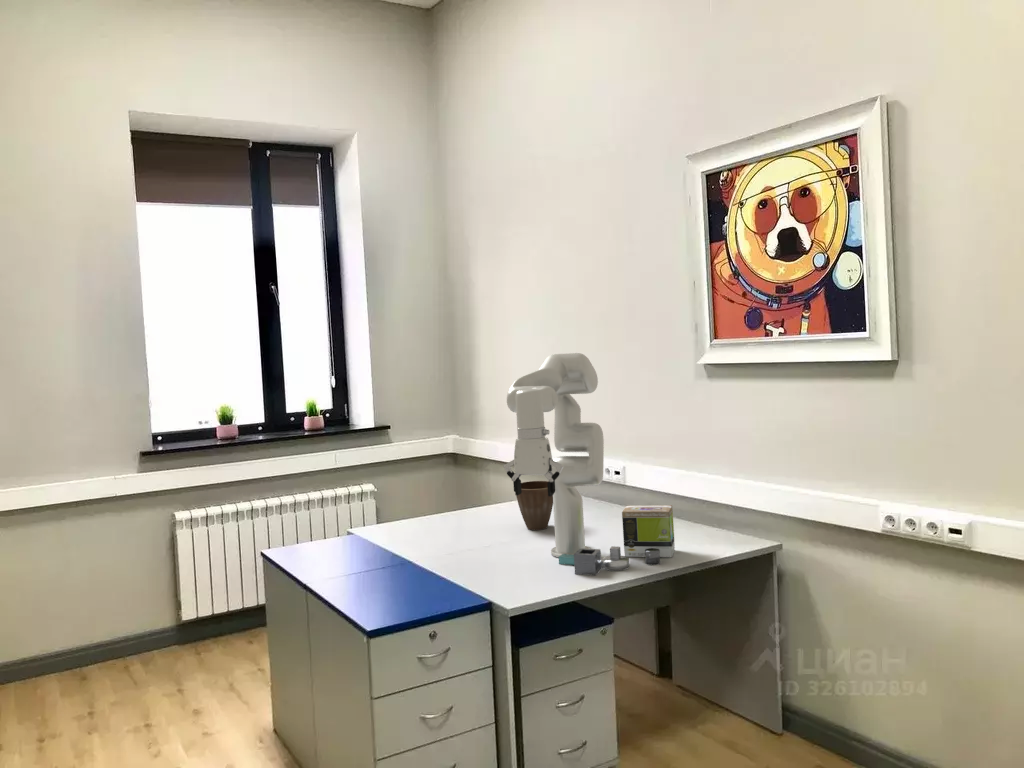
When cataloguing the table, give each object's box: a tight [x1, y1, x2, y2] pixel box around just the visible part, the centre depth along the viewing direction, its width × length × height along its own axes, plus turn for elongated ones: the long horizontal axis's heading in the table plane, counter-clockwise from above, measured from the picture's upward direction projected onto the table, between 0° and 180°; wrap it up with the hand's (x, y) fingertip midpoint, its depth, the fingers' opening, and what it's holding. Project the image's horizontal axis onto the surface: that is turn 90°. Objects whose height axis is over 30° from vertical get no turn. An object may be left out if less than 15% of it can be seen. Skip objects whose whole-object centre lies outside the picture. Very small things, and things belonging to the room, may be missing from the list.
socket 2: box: [644, 548, 661, 566], centre depth 255 cm, size 4×4×4 cm
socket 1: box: [573, 548, 602, 576], centre depth 250 cm, size 6×6×6 cm
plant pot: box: [515, 480, 554, 531], centre depth 306 cm, size 15×15×16 cm
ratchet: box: [558, 545, 630, 572], centre depth 256 cm, size 22×8×6 cm, turn 64°
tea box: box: [621, 504, 676, 558], centre depth 265 cm, size 15×10×15 cm
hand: (534, 494), depth 232 cm, fingers open, 9 cm apart
